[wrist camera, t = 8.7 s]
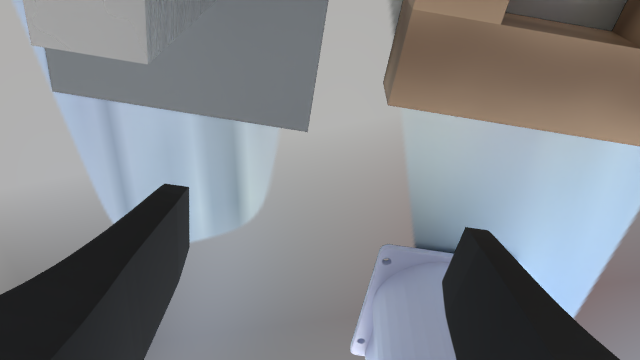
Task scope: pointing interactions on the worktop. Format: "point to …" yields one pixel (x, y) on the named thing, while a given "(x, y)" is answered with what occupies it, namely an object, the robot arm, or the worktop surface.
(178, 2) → the steel peg
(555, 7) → the worktop surface
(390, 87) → the block
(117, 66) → the mat
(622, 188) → the worktop surface
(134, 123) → the worktop surface
